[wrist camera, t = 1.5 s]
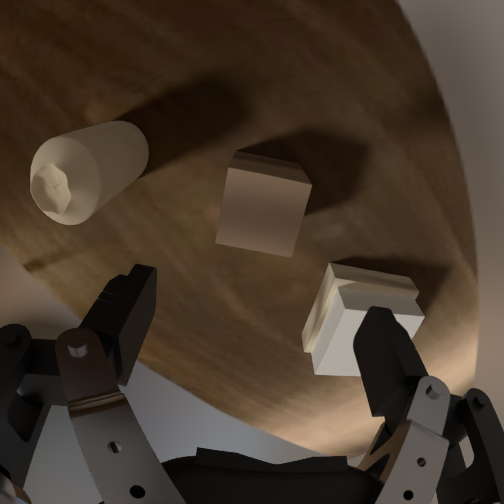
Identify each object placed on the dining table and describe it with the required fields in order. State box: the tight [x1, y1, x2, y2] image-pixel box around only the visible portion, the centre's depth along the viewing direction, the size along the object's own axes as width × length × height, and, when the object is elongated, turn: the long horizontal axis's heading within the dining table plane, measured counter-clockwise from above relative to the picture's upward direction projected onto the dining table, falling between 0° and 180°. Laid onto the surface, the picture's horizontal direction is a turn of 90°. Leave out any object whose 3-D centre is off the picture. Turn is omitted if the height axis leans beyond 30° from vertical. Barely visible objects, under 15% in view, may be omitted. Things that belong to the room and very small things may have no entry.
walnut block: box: [215, 151, 312, 257], centre depth 21 cm, size 5×5×6 cm
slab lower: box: [302, 263, 419, 353], centre depth 28 cm, size 9×9×3 cm
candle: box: [30, 121, 149, 225], centre depth 18 cm, size 6×6×10 cm
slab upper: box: [311, 287, 425, 376], centre depth 26 cm, size 8×8×3 cm
